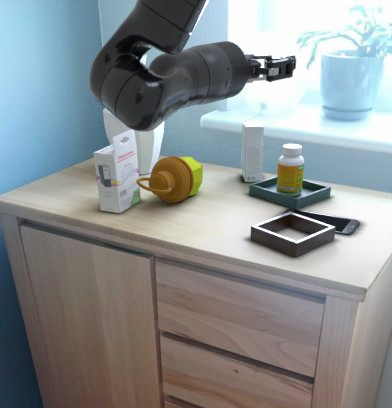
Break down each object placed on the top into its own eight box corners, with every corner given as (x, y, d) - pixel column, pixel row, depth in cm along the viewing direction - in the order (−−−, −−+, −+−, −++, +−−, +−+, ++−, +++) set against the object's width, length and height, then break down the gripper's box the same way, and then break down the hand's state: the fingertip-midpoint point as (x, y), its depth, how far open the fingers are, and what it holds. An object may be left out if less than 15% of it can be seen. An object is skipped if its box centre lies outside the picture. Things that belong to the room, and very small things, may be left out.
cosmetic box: (263, 182, 128) (266, 126, 121) (243, 182, 128) (245, 126, 121) (259, 174, 133) (261, 120, 126) (240, 174, 133) (242, 120, 126)
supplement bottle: (298, 198, 117) (303, 150, 111) (273, 195, 118) (276, 148, 113) (303, 190, 121) (308, 143, 115) (279, 187, 122) (282, 141, 117)
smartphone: (350, 238, 101) (351, 233, 101) (273, 224, 107) (273, 219, 107) (361, 224, 107) (361, 220, 106) (287, 212, 113) (287, 207, 112)
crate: (334, 240, 100) (336, 226, 98) (295, 257, 94) (297, 243, 92) (288, 224, 106) (289, 211, 105) (250, 239, 100) (250, 226, 99)
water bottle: (179, 182, 130) (121, 202, 110) (189, 143, 125) (129, 156, 105) (213, 196, 128) (160, 219, 108) (224, 157, 123) (170, 173, 103)
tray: (330, 196, 119) (331, 187, 118) (296, 209, 113) (297, 199, 112) (282, 182, 127) (283, 173, 126) (248, 194, 121) (249, 184, 120)
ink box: (121, 197, 120) (115, 125, 112) (141, 201, 118) (136, 127, 110) (98, 210, 114) (90, 135, 105) (119, 214, 112) (112, 137, 104)
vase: (97, 170, 137) (84, 56, 123) (143, 158, 145) (135, 50, 131) (132, 182, 129) (123, 61, 115) (179, 169, 137) (175, 55, 123)
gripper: (252, 46, 74) (311, 36, 84) (170, 41, 81) (234, 32, 92) (250, 107, 78) (307, 90, 88) (172, 96, 85) (233, 82, 96)
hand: (270, 60), depth 90 cm, fingers open, 8 cm apart
